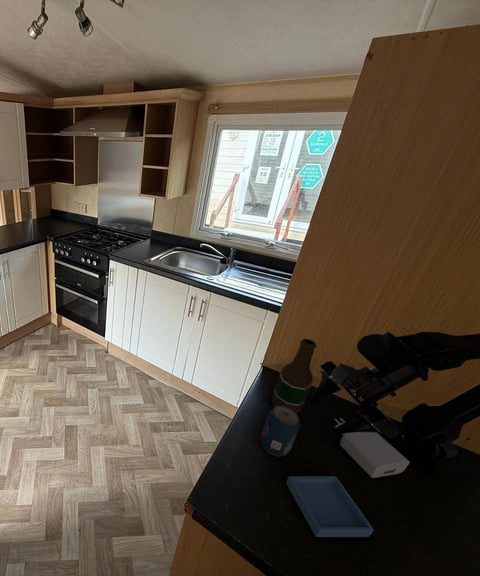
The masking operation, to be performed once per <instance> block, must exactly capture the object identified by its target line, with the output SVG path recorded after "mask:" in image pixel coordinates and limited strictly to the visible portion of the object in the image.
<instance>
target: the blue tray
mask: <svg viewBox="0 0 480 576" xmlns="http://www.w3.org/2000/svg"><path fill="white" fill-rule="evenodd" d="M285 484H286V486H287V488H288V489H289V491H290V493H291V495H292V497H293V498H294V500H295V503H296V504H297V505H298V508H299V509H300V511H301V513H302V515H303V517H304V519H305V520H306V522H307V524H308V526H309V528H310V529H311V531H312V533H313V535H314V537H315V538H369V537H370V536H371V535H372V534H373V532H374V531H375V530H374V528H373V526H372V525H371V523H370V522H369V520H368V519H367V518H366V516H365V515H364V513H363V512H362V511H361V509H360V508H359V506H358V505H357V504H356V502H355V501H354V500H353V498H352V497H351V496H350V494H349V492H348V491H347V489H345V487H344V486H343V484H342V483H341V481H340V480H339V478H338V477H337V476H336V475H304V476H303V475H293V476H291V475H289V476H288V477H287V480H286V482H285Z"/></svg>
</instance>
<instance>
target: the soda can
mask: <svg viewBox="0 0 480 576" xmlns="http://www.w3.org/2000/svg"><path fill="white" fill-rule="evenodd" d="M298 414H299V413H296V412H295V411H293V410H292V409H290V408H288V407H286V406H275V407H274V406H273V408H272V409H270V410H269V412H268V415H267V417H266V420H265V423H264V425H263V429H262V431H261V435H260V438H259V439H260V443H261V446H262V448H263V449H264V450H265V452H267V453H268V454H269V455H271V456H273V457H277V458H280V457H286V456H287V455H289V454H290V452H291V450H292V448H293V445H294V443H295V440H296V438H297V436H298V433H299V430H300V428H301V422H300V416H299V415H298Z"/></svg>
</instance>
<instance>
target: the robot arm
mask: <svg viewBox="0 0 480 576" xmlns="http://www.w3.org/2000/svg"><path fill="white" fill-rule="evenodd" d="M356 349H357V351H358V354H360V355H361V356H362V357H363V358H364V359H365V360H366V361H368V363H370V364H371V365H372V366H373V367H371V368H369V367H368V366H363V367H361V368H359V369H358V368H355V367H352V366H350V365H347V364H344V363H341V362H340V363H338V365H337V364H335V363H334V362H333V361H325V362H323V363H321V364H320V365H319V367H320V368H321V370H320V373H321V381H320V382H319V385H318V386H317V387H316V389H315V390H314V391H313V393H312V395H311V396H310V398H309V401H310V402H312V403H314V402H317V401H320V400H322V399H325V398H326V397H329V396H331V395H333V394H335V393H337V392H340V391H341V390H343V389H344V390H345V391H346V392H347V393H348V394H349V395H350V397H352V399H353V400H354V401H355V403H357V404H358V405H359V406H360V408H361V409H362V411H363V412H362V413H361V412H360V411H358V410H357V411H356V413H355V415H354V416H353V418H351V419H349V420H346V421H345V423H343V422H342V423H343V424H341V425H340V426H338V427H336V428H333V432H334V433H335V434H337V435H338V434H342V433H353V432H376V433H378V434H379V435H380V436H382V435H384V436H385V437H386V438H387V439H389V440H390V439H393V438H395V437H397V436H398V435H399V432H400V428H399V427H398V426H397V425H396V424H395V423H394V422H393V421H392V420H391V419H390V418H389V417H388V416H387V414H385V413H384V412H383V411H382V410H381V409H379V408H378V407H379V403H378V402H379V401H380V400H382V399H384V398H386V397H388V396H390V397H392V398H394V397H396V396H397V395H398V394H397V393H396V391H398V390H399V389H402V388H403V387H405V386H407V385H409V384H410V383H412V382H414V381H416V380H417V379H420V380H422V381H423V382H428V380H429V371H430V370H432V371H435V372H441V371H448V370H453V369H457V368H460V367H462V366H463V365H464V363H465V362H468V361H472V360H480V333H473V334H471V333H470V334H463V335H462V334H461V335H455V334H454V335H453V334H450V333H444V332H440V331H420V332H415V333H413V334H412V333H411V334H406V335H399V336H396V335H394V334H393V333H392V332H391V331H387V332H385V333H383V334H381V333H371V334H368V335H364V336H362V337H361V338H359V340H358V342H357V344H356ZM340 386H341V387H342V388H343V389H342V388H341V387H340ZM477 418H480V382H479V383H477V384H475V385H474V386H472V387H470V388H469V389H466V390H464V391H463V392H461V393H459V394H457V395H456V396H454V397H452V398H451V399H449V400H447V401H445V402H443V403H441V404H439V405H428V404H427V403H425V402H423V403H419V404H418V405H416V406H415V407H413V408H410V409H408V410H406V412H404V413H403V414H402V420H401V428H403V429H404V430H405V431H406V433H405V434H404V435H403V434H402V435H401V436H400V437H399V439H398V440H397V441H395V442H394V444H395V445H394V446H395V449H396V450H397V451H398V452H399V453H400V454H401V455H403V456H404V457H405V458H406V459H407V460H408V461H409V462H410V463H409V464H408V466H411V467H415V468H418V469H420V470H423V471H425V472H428V473H431V474H433V475H435V474H436V473H437V470H436V468H435V467H436V464H437V463H438V462H439V461H440V460H442V461H446V460H447V459H448V458H453V457H454V456H456V455H457V454H458V453H459V450H458V449H457V448H456V446H455V445H454V443H453V442H455V441H456V440H458V439H459V438H460V435H461V432H462V429H463V426H464V425H466V424H468V423H470V422H472V421H473V420H475V419H477Z"/></svg>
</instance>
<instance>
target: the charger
mask: <svg viewBox="0 0 480 576" xmlns="http://www.w3.org/2000/svg"><path fill="white" fill-rule="evenodd" d="M333 420H334V421H335V422H336V423H337V425H335V426H334V427H335V428H336V427H338V426H340V425H341V424H343V423H345V422H346V421H345V420H344V419H343V418H342V417H339V420H340V421H341V422H340V421H339V420H338V419H337V418H334V419H333ZM335 428H334V429H335ZM341 435H342V437H341V438H340V441H339V445H340V447H341V448H342V449H343V450H344V451H345V452H346V453H347V454H348V455H349V456H350V457H351V458H352V459H353V460H354V461H355V462H356V464H357V465H359V467H360V468H361V469H362V470H363V471H364V472H365V473H367V475H368V476H369V477H370V478H371V479H377V478H381V477H382V478H383V477H387V476H393V475H398V474H401V473H403V472H404V471H405V470H406V469H407V467H408V466H409V463H410V462H409V461H408V460H407V459H406V458H405V457H404V456H403V455H401V454H400V453H399V452H398V451H397V450H396V447H394V446H393V445H392V444H390V443H389V442H388V441H387V440H386V439H385V438H384V437H382V435H379V434H378V433H376V432H353V433H341Z"/></svg>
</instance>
